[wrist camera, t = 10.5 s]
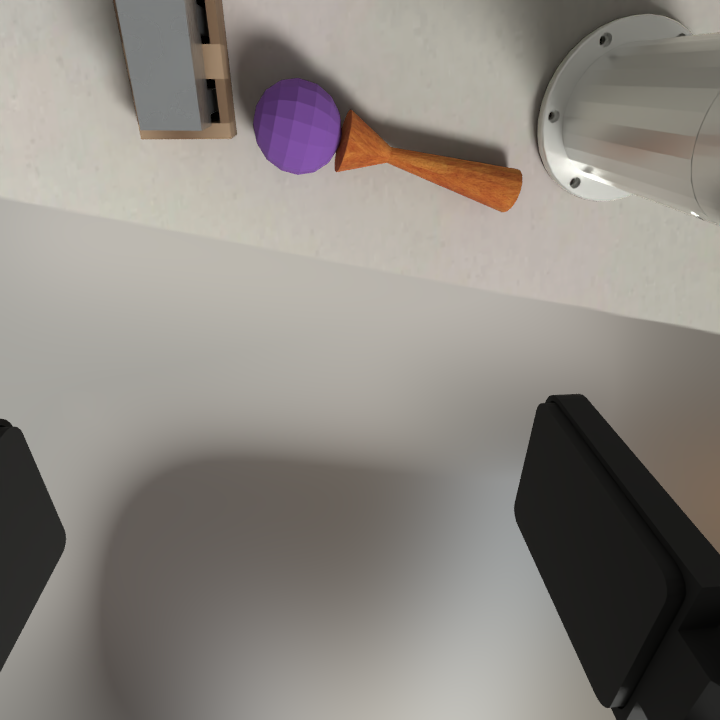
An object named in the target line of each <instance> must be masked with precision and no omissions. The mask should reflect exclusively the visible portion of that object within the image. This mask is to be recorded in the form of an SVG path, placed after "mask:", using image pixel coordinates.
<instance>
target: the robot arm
mask: <svg viewBox="0 0 720 720" xmlns="http://www.w3.org/2000/svg"><path fill="white" fill-rule="evenodd" d="M601 37H602V43H601V44H600V38H601ZM550 112H551V113H552V116H551V118H550V119H548V115H549V113H550ZM537 138H538V146H539V153H540V156H541V158H542V161H543V164H544V167H545V169H546V170H547V172H548V173H549V175H550V177H551V178H552V179H553V180H554V181H555V182H556V183H557V184H558V185H559V186H560V187H561V188H562V189H564V190H565V191H567V192H569V193H570V194H572V195H574V196H577V197H579V198H582V199H586V200H591V201H596V202H597V201H613V200H618V199H623V198H626V197H628V196H631V195H633V194H634V195H636V196H639V197H642V198H644V199H647V200H650V201H653V202H655V203H658V204H661V205H664V206H666V207H669V208H672V209H675V210H677V211H680V212H683V213H686V214H688V215H691V216H694V217H696V218H699V219H702V220H705V221H707V222H710V223H713V224H716V225H718V226H720V32H717V33H708V34H699V35H693V34H692V33H691V32H690V31H689V30H688V29H687V28H686V27H684V26H683V25H682V24H681V23H679V22H678V21H675V20H673V19H671V18H668V17H666V16H661V15H654V14H642V15H633V16H628V17H624V18H620V19H616V20H614V21H612V22H610V23H607V24H605V25H603V26H601V27H599V28H598V29H596V30H595V31H593V32H592V33H590V34H589V35H587V36H586V37H584V38H583V39H582V40H581V41H580V42H579V43H578V44H577V45H576V46H575V47H574V48H573V49H572V50H571V51H570V52H569V53H568V55H567V56H566V57H565V59H564V60H563V61H562V62H561V64H560V65H559V66H558V68H557V70H556V71H555V73H554V75H553V77H552V79H551V80H550V82H549V84H548V87H547V89H546V92H545V95H544V97H543V100H542V103H541V108H540V113H539V118H538V132H537ZM572 179H573V181H572V183H570V181H571V180H572ZM514 512H515V518H516V522H517V524H518V527H519V529H520V531H521V533H522V535H523V538H524V540H525V542H526V544H527V546H528V548H529V551H530V553H531V555H532V557H533V559H534V561H535V564H536V566H537V568H538V570H539V573H540V575H541V577H542V579H543V581H544V583H545V586H546V588H547V590H548V592H549V594H550V597H551V599H552V601H553V603H554V605H555V607H556V609H557V612H558V614H559V616H560V618H561V621H562V623H563V625H564V627H565V629H566V631H567V633H568V636H569V638H570V640H571V642H572V645H573V647H574V649H575V651H576V653H577V656H578V658H579V660H580V662H581V664H582V666H583V669H584V671H585V673H586V675H587V677H588V680H589V682H590V684H591V686H592V688H593V691H594V693H595V695H596V697H597V698H598V700H599V701H600V703H601V704H602V705H603V706H604V707H606V708H611V709H612V711H613V713H614V715H615V717H616V720H720V554H719V553H718V552H717V551H716V550H715V548H714V547H713V546H712V545H711V544H710V542H709V541H708V540H707V539H706V538H705V537H704V535H703V534H702V533H701V532H700V531H699V530H698V528H697V527H696V526H695V525H694V524H693V523H692V521H691V520H690V519H689V518H688V517H687V515H686V514H685V513H684V512H683V511H682V510H681V508H680V507H679V506H678V505H677V504H676V503H675V502H674V500H673V499H672V498H671V497H670V496H669V494H668V493H667V492H666V491H665V490H664V489H663V487H662V486H661V485H660V484H659V483H658V481H657V480H656V479H655V478H654V477H653V476H652V474H651V473H649V471H648V470H647V469H646V468H645V466H644V465H643V464H642V463H641V461H640V460H639V459H638V458H637V457H636V456H635V454H634V453H633V452H632V451H631V450H630V449H629V447H628V446H627V445H626V444H625V443H624V442H623V440H622V439H621V438H620V437H619V436H618V434H617V433H616V432H615V431H614V430H613V429H612V427H611V426H610V425H609V424H608V423H607V422H606V420H605V419H604V418H603V417H602V416H601V415H600V413H599V412H598V411H597V410H596V409H595V408H594V406H593V405H592V404H591V403H590V402H589V401H588V399H587V398H586V397H585V396H583V395H581V394H570V395H551V396H549V397H548V399H547V400H546V402H545V403H541V404H539V406H538V407H537V410H536V415H535V419H534V423H533V428H532V432H531V436H530V440H529V445H528V449H527V453H526V457H525V462H524V466H523V470H522V474H521V479H520V483H519V487H518V492H517V496H516V500H515V506H514ZM65 543H66V534H65V530H64V528H63V526H62V523H61V521H60V519H59V517H58V514H57V512H56V509H55V507H54V505H53V502H52V500H51V498H50V495H49V493H48V491H47V488H46V486H45V484H44V482H43V479H42V477H41V475H40V472H39V470H38V468H37V465H36V463H35V461H34V458H33V456H32V454H31V451H30V449H29V447H28V444H27V442H26V440H25V438H24V435H23V433H22V432H21V430H20V429H19V428H18V427H13V426H12V425H11V423H10V422H8V421H7V420H4V419H0V671H1V670H2V668H3V665H4V664H5V662H6V660H7V658H8V656H9V654H10V652H11V650H12V649H13V647H14V645H15V643H16V641H17V639H18V637H19V635H20V633H21V631H22V629H23V628H24V626H25V624H26V622H27V620H28V618H29V616H30V614H31V612H32V610H33V608H34V607H35V605H36V603H37V601H38V599H39V597H40V595H41V593H42V591H43V589H44V587H45V586H46V584H47V581H48V580H49V578H50V576H51V574H52V572H53V570H54V568H55V566H56V564H57V563H58V561H59V559H60V557H61V555H62V553H63V551H64V547H65Z"/></svg>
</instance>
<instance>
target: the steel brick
mask: <svg viewBox="0 0 720 720" xmlns="http://www.w3.org/2000/svg"><path fill="white" fill-rule="evenodd" d="M115 1H116V6H117V11H118V16H119V22H120V27H121V32H122V37H123V42H124V48H125V53H126V58H127V63H128V69H129V74H130V79H131V84H132V89H133V95H134V100H135V105H136V110H137V116H138V121H139V126H140V130H168V131H202V130H204V129H206V128H208V127H210V126H212V123H211V115H210V114H212V113H214V112H217V111H219V108H218V100H217V92H216V89H207V83H206V75H205V67H204V59H203V51H202V43H201V36H209V29H208V21H207V14H206V10H205V9H204V8H202V7H201V6H199V5H197V3H196V0H115Z"/></svg>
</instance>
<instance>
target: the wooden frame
mask: <svg viewBox="0 0 720 720" xmlns="http://www.w3.org/2000/svg"><path fill="white" fill-rule="evenodd" d="M113 3H114V8H115V13H116V18H117V23H118V28H119V33H120V37H121V42H122V47H123V52H124V57H125V62H126V67H127V72H128V77H129V81H130V86H131V91H132V96H133V101H134V106H135V111H136V116H137V110H136V105H135V100H134V95H133V89H132V84H131V79H130V74H129V69H128V63H127V58H126V53H125V48H124V42H123V37H122V32H121V27H120V22H119V16H118V11H117V6H116V1H115V0H113ZM205 6H206V14H207V21H208V29H209V37H210V44H202V51H203V59H204V67H205V75H206V79H215V84H216V92H217V100H218V108H219V115H220V120H211V123H212V126H210V127H208V128H206V129H204V130H202V131H168V130H140V126H139V130H140V135H141V139H232V138H233V137H234V136H235V135H237V130H236V121H235V112H234V103H233V94H232V85H231V77H230V68H229V59H228V50H227V41H226V32H225V24H224V15H223V6H222V0H205ZM137 121H138V116H137ZM138 125H139V121H138Z"/></svg>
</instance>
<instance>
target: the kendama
mask: <svg viewBox="0 0 720 720" xmlns="http://www.w3.org/2000/svg"><path fill="white" fill-rule="evenodd" d="M253 126H254V131H255V136H256V141H257V144H258V146H259V147H260V149H261V151H262V152H263V154H264V155H265V157H266V159H267V160H269V161H270V162H271V163H272V164H274V165H275V166H276V167H278V168H279V169H280V170H282V171H286V172H290V173H293V174H297V175H299V174H305V173H312V172H315V171H317V170H318V169H320V168H321V167H323V166H324V165H326V164H327V163H328V162H329V161H330V160H331V158H332V157H333V155H334V154H335V152H336V157H335V171H336V172H340V171H345V170H350V169H355V168H361V167H366V166H371V165H377V164H382V163H389V164H391V165H393V166H396V167H398V168H400V169H403V170H405V171H407V172H410V173H412V174H414V175H417V176H419V177H421V178H424V179H426V180H428V181H431V182H433V183H435V184H438V185H440V186H442V187H445V188H447V189H449V190H452V191H454V192H456V193H459V194H461V195H463V196H466V197H468V198H470V199H473V200H475V201H477V202H480V203H482V204H484V205H487V206H489V207H491V208H494V209H496V210H498V211H501V212H506V211H508V210H509V209H510V208H511V207H512V206H513V205H514V203H515V202H516V200H517V198H518V196H519V193H520V191H521V186H522V174H521V171H520V170H518V169H514V168H508V167H502V166H496V165H491V164H485V163H479V162H473V161H468V160H462V159H456V158H451V157H445V156H439V155H433V154H428V153H422V152H416V151H411V150H405V149H399V148H393V147H390V146H389V145H388V144H387V143H386V142H385V141H384V140H383V139H382V138H381V137H380V136H379V135H378V134H377V133H375V132H374V131H373V130H372V129H371V128H370V127H369V126H368V125H367V124H366V123H365V122H364V121H363V120H362V119H361V118H360V117H359V116H358V115H356V114H355V113H354V112H353V111H352V110H351V109H350V110H349V111H348V113H347V115H346V117H345V120H344V123H343V126H342V129H341V120H340V113H339V111H338V109H337V107H336V105H335V103H334V101H333V99H332V97H331V96H330V95H329V94H328V93H327V92H326V91H324V90H323V89H322V88H321V87H320V86H319V85H318V84H315V83H312V82H309V81H306V80H303V79H300V78H294V79H286V80H280V81H279V82H277V83H276V84H274V85H273V86H271V87H269V88H268V89H266V91H265V92H264V94H263V95H262V97H261V99H260V100H259V102H258V103H257V105H256V110H255V115H254V122H253Z"/></svg>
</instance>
